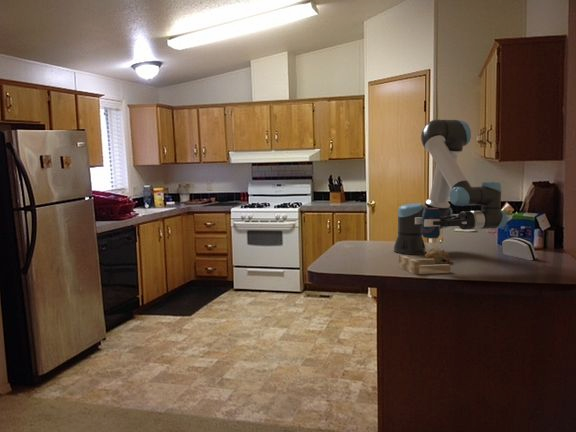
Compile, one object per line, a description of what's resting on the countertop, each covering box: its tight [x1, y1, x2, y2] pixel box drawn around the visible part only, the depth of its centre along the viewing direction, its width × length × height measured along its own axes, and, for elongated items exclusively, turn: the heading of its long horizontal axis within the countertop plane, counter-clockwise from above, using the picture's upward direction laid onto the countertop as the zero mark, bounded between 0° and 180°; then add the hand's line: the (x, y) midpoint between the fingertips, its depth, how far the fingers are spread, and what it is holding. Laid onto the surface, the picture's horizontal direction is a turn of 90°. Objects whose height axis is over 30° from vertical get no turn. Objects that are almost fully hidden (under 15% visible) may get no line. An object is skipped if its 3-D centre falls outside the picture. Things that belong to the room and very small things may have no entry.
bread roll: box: [424, 247, 450, 265], centre depth 221 cm, size 10×10×8 cm
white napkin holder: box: [501, 237, 540, 261], centre depth 231 cm, size 17×5×10 cm, turn 21°
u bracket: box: [398, 254, 451, 275], centre depth 204 cm, size 14×16×5 cm
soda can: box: [422, 207, 441, 240], centre depth 202 cm, size 7×7×12 cm
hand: (420, 221), depth 200 cm, fingers closed on soda can, 7 cm apart
